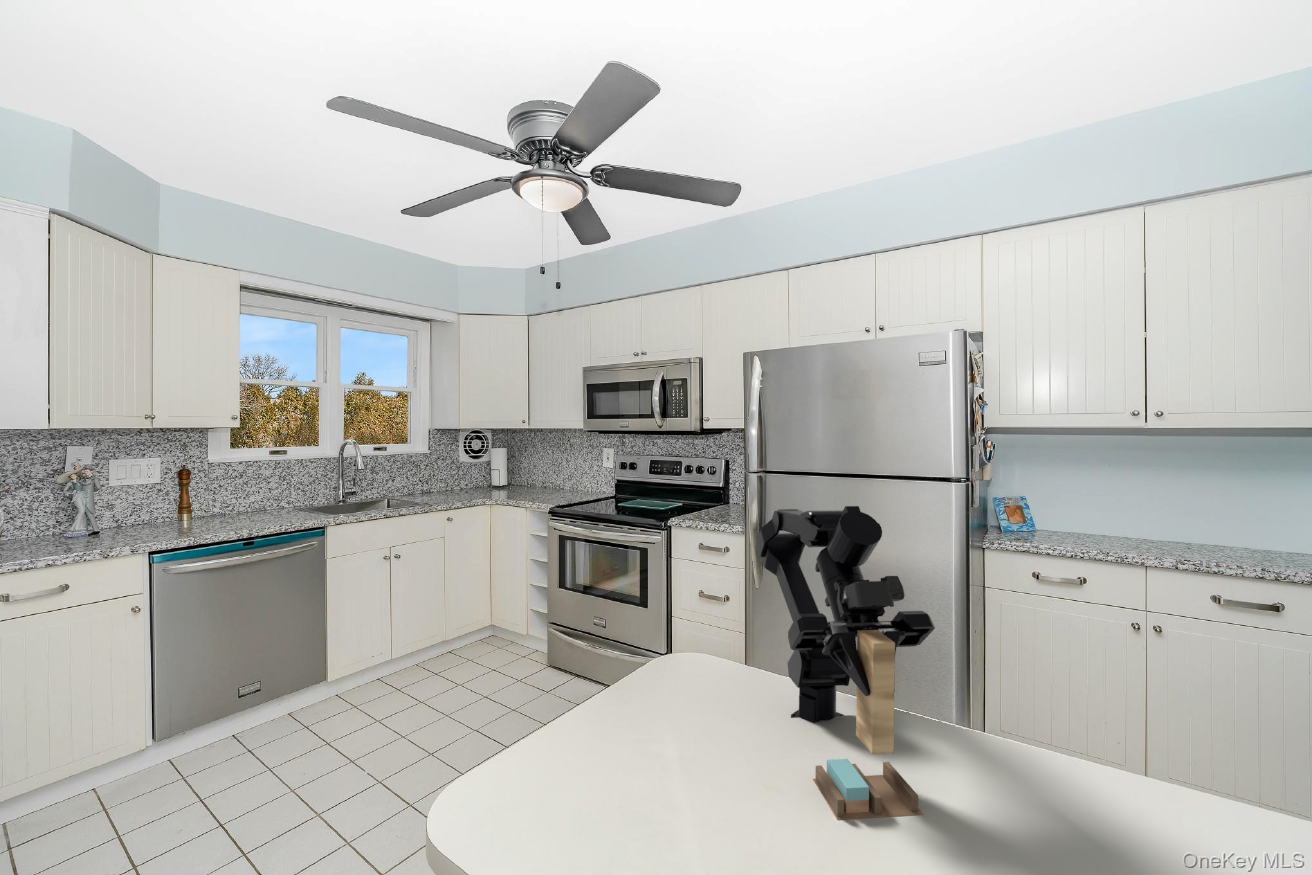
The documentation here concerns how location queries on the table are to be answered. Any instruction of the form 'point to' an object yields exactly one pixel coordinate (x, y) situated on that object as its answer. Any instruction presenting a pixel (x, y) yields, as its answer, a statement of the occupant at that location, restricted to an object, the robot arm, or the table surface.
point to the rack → (873, 795)
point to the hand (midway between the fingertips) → (880, 694)
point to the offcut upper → (847, 780)
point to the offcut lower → (854, 804)
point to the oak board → (876, 692)
